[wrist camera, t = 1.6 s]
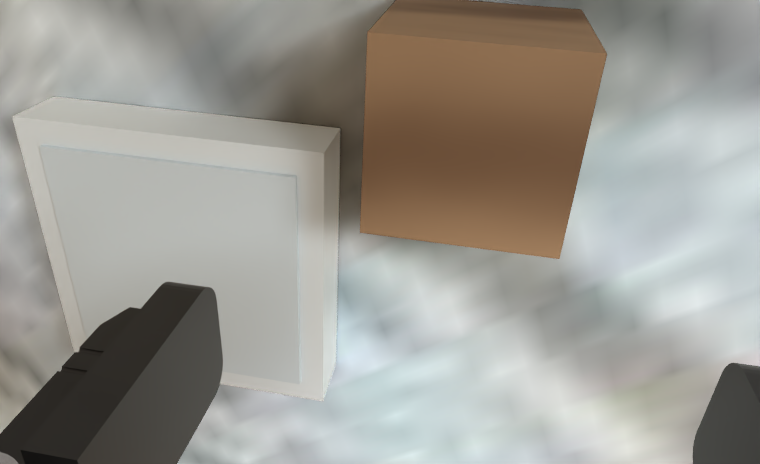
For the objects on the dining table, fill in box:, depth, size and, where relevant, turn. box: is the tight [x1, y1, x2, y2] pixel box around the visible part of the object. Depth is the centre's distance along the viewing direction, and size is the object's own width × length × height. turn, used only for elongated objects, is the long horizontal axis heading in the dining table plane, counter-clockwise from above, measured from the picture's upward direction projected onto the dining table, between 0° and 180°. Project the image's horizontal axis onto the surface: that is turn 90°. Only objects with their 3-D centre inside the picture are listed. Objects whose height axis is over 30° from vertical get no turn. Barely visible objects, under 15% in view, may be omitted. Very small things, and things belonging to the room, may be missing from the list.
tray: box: [12, 96, 340, 401], centre depth 26 cm, size 12×12×3 cm
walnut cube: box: [360, 0, 607, 259], centre depth 20 cm, size 6×6×6 cm
